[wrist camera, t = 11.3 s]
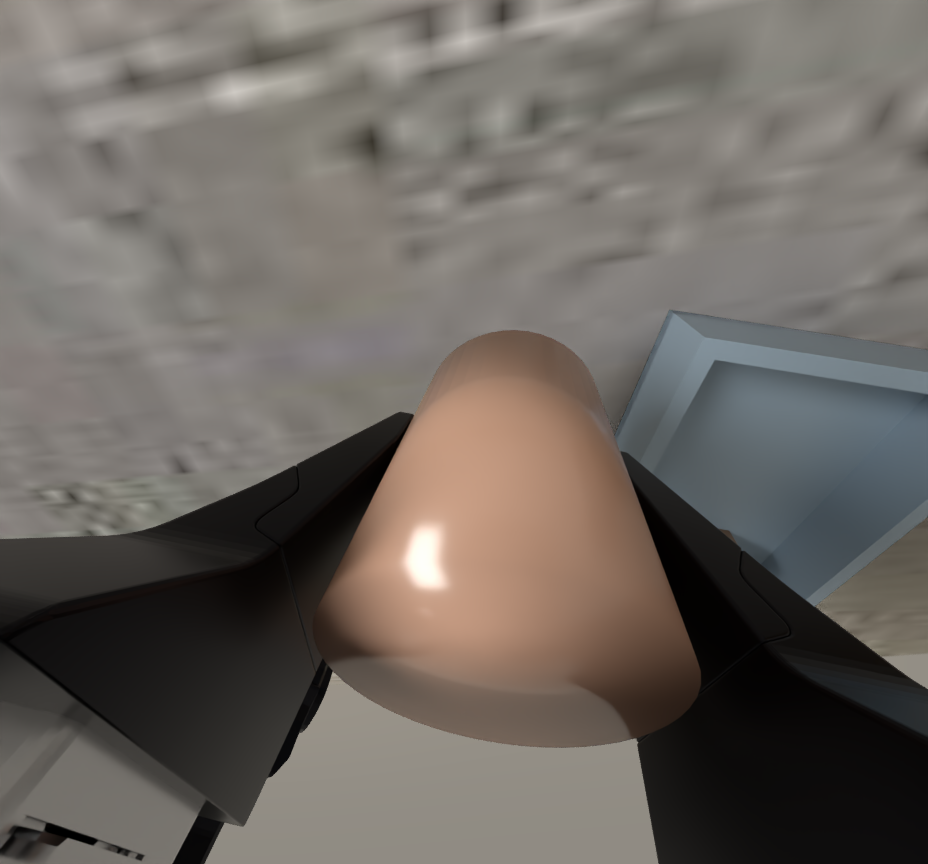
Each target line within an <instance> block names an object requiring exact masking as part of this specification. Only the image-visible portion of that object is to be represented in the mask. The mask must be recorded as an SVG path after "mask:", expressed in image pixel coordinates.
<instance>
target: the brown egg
mask: <svg viewBox="0 0 928 864" xmlns="http://www.w3.org/2000/svg"><path fill="white" fill-rule="evenodd" d="M312 629H313V636H314V641H315V643H316V646H317V649H318V651H319V653H320V654H321V656H322V658H323V659H324V661H325V662H326V663H327V665H328V666H329V667H330V668H331V669H332V670H333V672H334V673H335V674H336V675H338V676H339V677H340V678H341V679H342V680H343V681H344V682H345V683H347V684H348V685H349V686H350V687H352V688H353V689H354V690H356V691H357V692H359V693H360V694H362V695H363V696H365V697H366V698H368V699H369V700H371V701H373V702H375V703H377V704H379V705H380V706H382V707H384V708H386V709H388V710H390V711H392V712H394V713H396V714H399V715H401V716H403V717H406V718H408V719H411V720H413V721H416V722H418V723H421V724H424V725H427V726H430V727H433V728H436V729H439V730H443V731H446V732H449V733H453V734H457V735H461V736H465V737H470V738H474V739H479V740H485V741H490V742H496V743H502V744H511V745H519V746H530V747H554V748H557V747H559V748H566V747H587V746H597V745H605V744H611V743H617V742H622V741H626V740H630V739H634V738H638V737H641V736H644V735H647V734H650V733H653V732H655V731H657V730H659V729H661V728H663V727H665V726H667V725H669V724H670V723H672V722H674V721H675V720H677V719H678V718H680V717H681V716H682V715H683V714H684V713H685V712H686V711H687V710H688V709H689V708H690V707H691V705H692V704H693V702H694V701H695V699H696V698H697V696H698V692H699V689H700V686H701V670H700V667H699V664H698V661H697V658H696V655H695V652H694V650H693V647H692V644H691V642H690V639H689V636H688V633H687V631H686V628H685V625H684V623H683V620H682V617H681V615H680V612H679V609H678V606H677V604H676V601H675V598H674V596H673V593H672V590H671V587H670V585H669V582H668V579H667V577H666V574H665V571H664V569H663V566H662V563H661V560H660V558H659V555H658V552H657V550H656V547H655V544H654V542H653V539H652V536H651V533H650V531H649V528H648V525H647V523H646V520H645V517H644V514H643V512H642V509H641V506H640V504H639V501H638V498H637V496H636V493H635V490H634V487H633V485H632V482H631V479H630V477H629V474H628V471H627V468H626V466H625V463H624V460H623V458H622V455H621V452H620V450H619V447H618V444H617V441H616V439H615V436H614V433H613V431H612V428H611V425H610V422H609V420H608V417H607V414H606V412H605V409H604V406H603V404H602V401H601V398H600V395H599V393H598V390H597V387H596V385H595V382H594V379H593V377H592V375H591V373H590V371H589V370H588V368H587V367H586V365H585V364H584V363H583V361H582V360H581V359H580V358H579V357H578V356H577V355H576V354H575V353H574V352H573V351H571V350H570V349H569V348H567V347H566V346H565V345H563V344H561V343H560V342H558V341H556V340H554V339H552V338H549V337H547V336H544V335H541V334H537V333H533V332H528V331H518V330H509V331H498V332H492V333H488V334H485V335H481V336H478V337H476V338H474V339H472V340H469V341H467V342H466V343H464V344H462V345H461V346H459V347H458V348H457V349H455V350H454V351H453V352H452V353H451V354H449V355H448V357H447V358H446V359H445V360H444V361H443V362H442V363H441V365H440V366H439V368H438V369H437V371H436V373H435V375H434V377H433V379H432V381H431V383H430V385H429V387H428V389H427V391H426V393H425V395H424V397H423V399H422V401H421V403H420V405H419V407H418V409H417V411H416V413H415V415H414V417H413V419H412V421H411V423H410V425H409V427H408V429H407V431H406V433H405V435H404V437H403V439H402V441H401V443H400V445H399V447H398V449H397V451H396V453H395V454H394V456H393V458H392V460H391V462H390V464H389V466H388V468H387V470H386V472H385V474H384V476H383V478H382V480H381V482H380V484H379V486H378V488H377V490H376V492H375V494H374V496H373V498H372V500H371V502H370V504H369V506H368V508H367V510H366V512H365V514H364V516H363V518H362V520H361V522H360V524H359V526H358V528H357V530H356V532H355V534H354V536H353V538H352V540H351V542H350V544H349V546H348V548H347V550H346V552H345V554H344V556H343V558H342V560H341V562H340V564H339V566H338V568H337V570H336V572H335V574H334V576H333V578H332V580H331V582H330V584H329V586H328V588H327V590H326V592H325V594H324V596H323V598H322V600H321V602H320V604H319V606H318V608H317V610H316V613H315V615H314V619H313V626H312Z"/></svg>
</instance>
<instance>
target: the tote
mask: <svg viewBox="0 0 928 864" xmlns="http://www.w3.org/2000/svg"><path fill="white" fill-rule="evenodd" d="M615 439H616V441H617V444H618V447H619V450H620V451H623V452H627V453H629V454H630V455H631V456H632V457H633V458H634V459H636V460H637V461H638V462H639V463H640V464H642V465H643V466H644V467H645V468H646V469H648V470H649V471H650V472H651V473H652V474H654V475H655V476H656V477H657V478H658V479H660V480H661V481H662V482H663V483H664V484H666V485H667V486H668V487H669V488H670V489H672V490H673V491H674V492H675V493H676V494H677V495H679V496H680V497H681V498H682V499H683V500H685V501H686V502H687V503H688V504H689V505H691V506H692V507H693V508H694V509H695V510H697V511H698V512H699V513H700V514H701V515H703V516H704V517H705V518H706V519H707V520H709V521H710V522H711V523H712V524H713V525H715V526H716V527H717V528H718V529H723V530H728V531H730V533H731V534H732V536H733V538H734V539H735V541H736V543H737V544H738V546H740V547H741V551H746V552H747V553H748V554H749V555H750V556H752V557H753V558H754V559H755V560H756V561H758V562H759V563H760V564H761V565H762V566H764V567H765V568H766V569H767V570H769V571H770V572H771V573H772V574H773V575H775V576H776V577H777V578H778V579H780V580H781V581H782V582H783V583H785V584H786V585H787V586H788V587H790V588H791V589H792V590H794V591H795V592H796V593H797V594H799V595H800V596H801V597H803V598H804V599H805V600H807V601H808V602H809V603H810V604H812V605H813V606H814V607H815V606H816V605H817V604H818V603H820V602H821V601H822V600H823V599H825V598H826V597H827V596H829V595H830V594H831V593H832V592H834V591H835V590H836V589H837V588H839V587H840V586H841V585H842V584H844V583H845V582H846V581H847V580H849V579H850V578H851V577H852V576H854V575H855V574H856V573H857V572H859V571H860V570H861V569H863V568H864V567H865V566H866V565H868V564H869V563H870V562H871V561H873V560H874V559H875V558H876V557H878V556H879V555H880V554H881V553H883V552H884V551H885V550H886V549H888V548H889V547H890V546H891V545H893V544H894V543H895V542H897V541H898V540H899V539H900V538H902V537H903V536H904V535H905V534H907V533H908V532H909V531H910V530H912V529H913V528H914V527H915V526H917V525H918V524H919V523H920V522H922V521H923V520H924V519H925V518H927V517H928V350H925V349H919V348H912V347H906V346H900V345H893V344H887V343H880V342H874V341H867V340H861V339H854V338H848V337H842V336H835V335H829V334H822V333H816V332H809V331H803V330H796V329H790V328H784V327H777V326H771V325H764V324H758V323H751V322H745V321H738V320H732V319H726V318H719V317H713V316H706V315H700V314H693V313H687V312H680V311H674V310H669V313H668V315H667V317H666V320H665V322H664V324H663V326H662V329H661V331H660V333H659V335H658V338H657V340H656V342H655V345H654V347H653V349H652V351H651V354H650V356H649V358H648V360H647V363H646V365H645V367H644V370H643V372H642V374H641V376H640V379H639V381H638V383H637V385H636V388H635V390H634V392H633V395H632V397H631V399H630V401H629V404H628V406H627V408H626V411H625V413H624V415H623V417H622V420H621V422H620V424H619V426H618V429H617V431H616V433H615Z"/></svg>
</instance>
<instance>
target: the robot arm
mask: <svg viewBox="0 0 928 864" xmlns="http://www.w3.org/2000/svg"><path fill="white" fill-rule="evenodd" d="M413 417H414V415H413V414H410V413H404V412H398V413H396V414H394V415H392V416H390V417H388V418H386V419H384V420H382V421H380V422H378V423H376V424H374V425H373V426H371V427H369V428H367V429H365V430H363V431H361V432H359V433H357V434H355V435H353V436H351V437H349V438H347V439H345V440H343V441H341V442H339V443H337V444H335V445H334V446H332V447H330V448H328V449H326V450H324V451H322V452H320V453H318V454H316V455H314V456H312V457H310V458H308V459H306V460H304V461H302V462H300V463H298V464H297V467H296V466H292V467H290V468H288V469H287V470H285V471H283V472H281V473H279V474H277V475H275V476H272V477H270V478H268V479H266V480H264V481H262V482H260V483H258V484H256V485H253V486H251V487H249V488H247V489H244V490H242V491H240V492H238V493H235V494H233V495H231V496H228V497H226V498H224V499H221V500H219V501H216V502H214V503H212V504H209V505H207V506H204V507H202V508H200V509H197V510H195V511H193V512H190V513H188V514H185V515H183V516H181V517H178V518H176V519H174V520H171V521H169V522H166V523H164V524H161V525H158V526H156V527H153V528H149V529H146V530H142V531H138V532H133V533H128V534H120V535H110V536H84V537H53V538H22V539H0V864H204V863H205V861H206V859H207V857H208V855H209V853H210V851H211V849H212V847H213V845H214V843H215V841H216V838H217V836H218V834H219V832H220V830H221V828H222V827H223V825H224V823H229V824H233V825H237V826H244V825H245V824H246V821H247V819H248V818H249V815H250V813H251V811H252V809H253V807H254V805H255V803H256V801H257V799H258V797H259V794H260V792H261V790H262V788H263V786H264V784H265V781H266V779H267V778H268V777H272V776H273V775H274V774H275V773H276V772H277V771H278V770H279V769H280V767H281V766H282V765H283V764H284V763H285V762H286V761H287V760H288V758H289V757H290V755H291V752H292V749H293V747H294V744H295V742H296V739H297V737H298V734H299V733H301V732H303V731H304V730H305V729H306V728H307V727H308V725H309V724H310V722H311V721H312V719H313V717H314V716H315V714H316V712H317V710H318V708H319V706H320V704H321V702H322V700H323V698H324V695H325V693H326V690H327V687H328V685H329V681H330V678H331V675H332V671H333V670H332V669H331V668H330V667H329V666H328V665H327V663H326V662H325V661H324V659H323V658H322V656H321V654H320V653H319V651H318V649H317V646H316V643H315V641H314V636H313V629H312V626H313V619H314V615H315V613H316V610H317V608H318V606H319V604H320V602H321V600H322V598H323V596H324V594H325V592H326V590H327V588H328V586H329V584H330V582H331V580H332V578H333V576H334V574H335V572H336V570H337V568H338V566H339V564H340V562H341V560H342V558H343V556H344V554H345V552H346V550H347V548H348V546H349V544H350V542H351V540H352V538H353V536H354V534H355V532H356V530H357V528H358V526H359V524H360V522H361V520H362V518H363V516H364V514H365V512H366V510H367V508H368V506H369V504H370V502H371V500H372V498H373V496H374V494H375V492H376V490H377V488H378V486H379V484H380V482H381V480H382V478H383V476H384V474H385V472H386V470H387V468H388V466H389V464H390V462H391V460H392V458H393V456H394V454H395V453H396V451H397V449H398V447H399V445H400V443H401V441H402V439H403V437H404V435H405V433H406V431H407V429H408V427H409V425H410V423H411V421H412V419H413ZM620 452H621V455H622V458H623V460H624V463H625V466H626V468H627V471H628V474H629V477H630V479H631V482H632V485H633V487H634V490H635V493H636V496H637V498H638V501H639V504H640V506H641V509H642V512H643V514H644V517H645V520H646V523H647V525H648V528H649V531H650V533H651V536H652V539H653V542H654V544H655V547H656V550H657V552H658V555H659V558H660V560H661V563H662V566H663V569H664V571H665V574H666V577H667V579H668V582H669V585H670V587H671V590H672V593H673V596H674V598H675V601H676V604H677V606H678V609H679V612H680V615H681V617H682V620H683V623H684V625H685V628H686V631H687V633H688V636H689V639H690V642H691V644H692V647H693V650H694V652H695V655H696V658H697V661H698V664H699V667H700V670H701V686H700V689H699V692H698V696H697V698H696V699H695V701H694V702H693V704H692V705H691V707H690V708H689V709H688V710H687V711H686V712H685V713H684V714H683V715H682V716H681V717H680V718H678V719H677V720H675V721H674V722H672V723H670V724H669V725H667V726H665V727H663V728H661V729H659V730H657V731H655V732H653V733H650V734H647V735H644V736H641V737H638V738H636V739H637V741H638V742H639V743H638V744H637V746H638V751H639V757H640V763H641V768H642V774H643V779H644V784H645V791H646V796H647V801H648V807H649V813H650V818H651V823H652V830H653V835H654V840H655V846H656V852H657V857H658V863H659V864H928V689H926V688H925V687H923V686H922V685H920V684H918V683H917V682H915V681H914V680H912V679H911V678H909V677H908V676H906V675H905V674H904V673H902V672H901V671H899V670H898V669H897V668H895V667H894V666H893V665H891V664H890V663H889V662H887V661H886V660H885V659H883V658H882V657H881V656H879V655H878V654H877V653H875V652H874V651H873V650H871V649H870V648H869V647H867V646H866V645H865V644H863V643H862V642H861V641H859V640H858V639H857V638H855V637H854V636H853V635H851V634H850V633H849V632H847V631H846V630H845V629H843V628H842V627H841V626H840V625H838V624H837V623H836V622H834V621H833V620H832V619H830V618H829V617H828V616H826V615H825V614H824V613H822V612H821V611H820V610H818V609H817V608H816V607H814V606H813V605H812V604H810V603H809V602H808V601H807V600H805V599H804V598H803V597H801V596H800V595H799V594H797V593H796V592H795V591H794V590H792V589H791V588H790V587H788V586H787V585H786V584H785V583H783V582H782V581H781V580H780V579H778V578H777V577H776V576H775V575H773V574H772V573H771V572H770V571H769V570H767V569H766V568H765V567H764V566H762V565H761V564H760V563H759V562H758V561H756V560H755V559H754V558H753V557H752V556H750V555H749V554H748V553H747V552H746V551H741V547H740V546H738V545H737V544H736V543H735V542H734V541H732V540H731V539H730V538H729V537H728V536H726V535H725V534H724V533H723V532H722V531H721V530H719V529H718V528H717V527H716V526H715V525H713V524H712V523H711V522H710V521H709V520H707V519H706V518H705V517H704V516H703V515H701V514H700V513H699V512H698V511H697V510H695V509H694V508H693V507H692V506H691V505H689V504H688V503H687V502H686V501H685V500H683V499H682V498H681V497H680V496H679V495H677V494H676V493H675V492H674V491H673V490H672V489H670V488H669V487H668V486H667V485H666V484H664V483H663V482H662V481H661V480H660V479H658V478H657V477H656V476H655V475H654V474H652V473H651V472H650V471H649V470H648V469H646V468H645V467H644V466H643V465H642V464H640V463H639V462H638V461H637V460H636V459H634V458H633V457H632V456H631V455H630V454H629V453H627V452H623V451H620Z"/></svg>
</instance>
